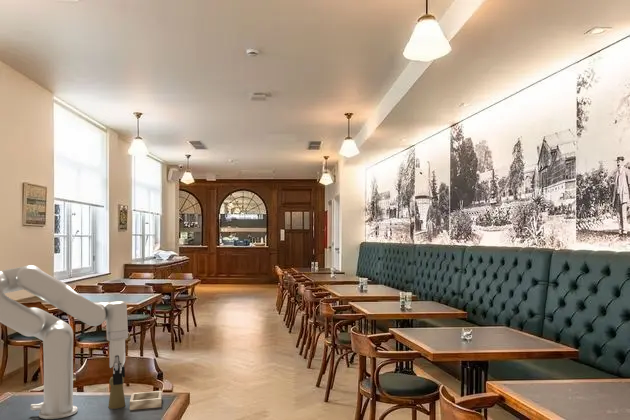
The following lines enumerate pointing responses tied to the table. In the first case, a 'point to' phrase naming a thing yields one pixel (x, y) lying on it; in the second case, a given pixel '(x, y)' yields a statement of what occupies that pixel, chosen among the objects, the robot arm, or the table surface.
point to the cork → (116, 395)
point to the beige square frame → (146, 400)
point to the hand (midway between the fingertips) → (119, 380)
